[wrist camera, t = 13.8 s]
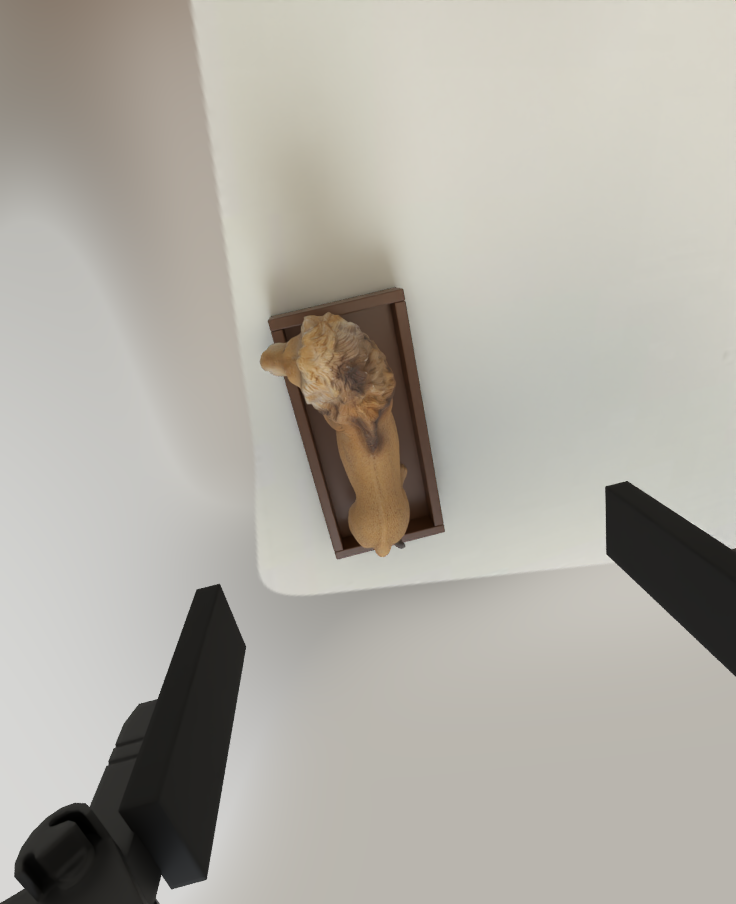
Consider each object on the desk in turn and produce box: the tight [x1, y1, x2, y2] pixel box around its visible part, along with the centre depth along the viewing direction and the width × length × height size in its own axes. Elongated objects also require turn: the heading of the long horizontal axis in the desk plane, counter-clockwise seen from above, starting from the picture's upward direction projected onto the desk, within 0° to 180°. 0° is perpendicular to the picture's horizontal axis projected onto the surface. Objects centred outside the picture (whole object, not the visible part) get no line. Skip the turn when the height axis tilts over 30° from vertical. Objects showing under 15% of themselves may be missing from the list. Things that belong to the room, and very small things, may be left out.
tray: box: [268, 287, 445, 559], centre depth 28 cm, size 15×7×2 cm, turn 12°
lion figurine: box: [260, 312, 410, 557], centre depth 23 cm, size 15×5×9 cm, turn 20°
